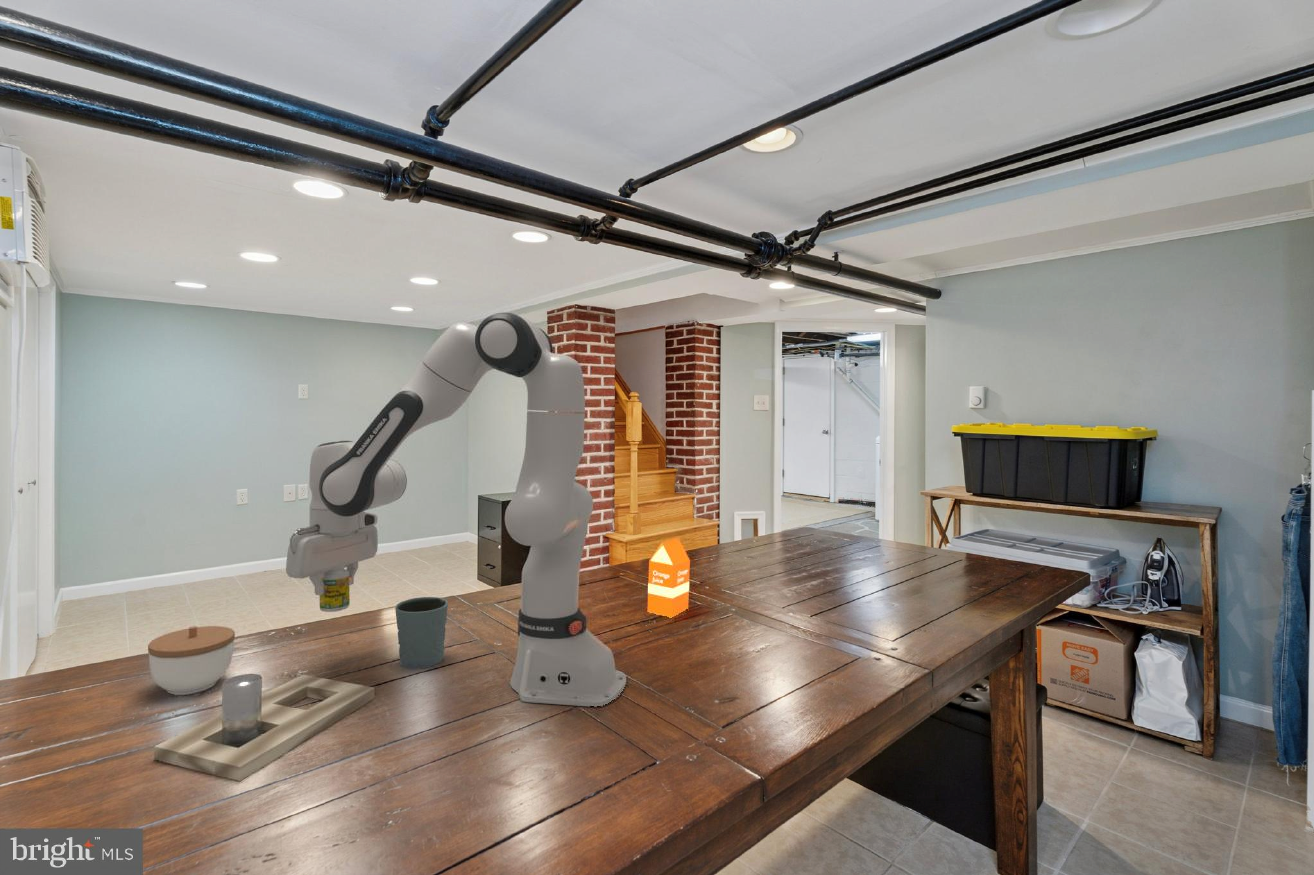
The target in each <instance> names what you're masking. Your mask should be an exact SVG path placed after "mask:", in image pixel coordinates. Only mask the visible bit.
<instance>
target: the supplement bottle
mask: <svg viewBox="0 0 1314 875" xmlns="http://www.w3.org/2000/svg"><path fill="white" fill-rule="evenodd" d="M345 568H346V567H345V563H344V562H341V563H340V565H339V566H338V568H336V569H333V570H330V571H326V572H324V577H323V578H321V579H322V581H323V583H324V584H326V585H328V589H327V590H328V592H327V593H326V594H323V595H319V610H320V611H321V612H325V613H334V612H340V611H343V610H346V609H348V608H349V607H350V596H351V595H350V585H349V572H348V571H347V570H346V569H345Z"/></svg>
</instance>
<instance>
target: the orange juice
mask: <svg viewBox="0 0 1314 875" xmlns="http://www.w3.org/2000/svg"><path fill="white" fill-rule="evenodd" d="M690 565H691V559H690V558H689V556H688V554H687V552H686V549H685V548H684V546H683V544H682V542H681V540H680V538H679V537H676V538H672V539H669V540H666V541H663V542H661V543H660V545H659V546H658V547H657V549H656V551H655V552H654V553H653V555H652V556H651V557H650V559H649V561H648V583H647V584H648V585H647V612H649V613H654V614H656V615H662V616H667V617H669V618H672V617H674V616H676V615H678V614H679V613H681V612H683V611H685V610H686V609H688V610H689V596H690V594H689V593H690V570H691V569H690V567H691V566H690Z"/></svg>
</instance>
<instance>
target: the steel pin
mask: <svg viewBox="0 0 1314 875" xmlns="http://www.w3.org/2000/svg"><path fill="white" fill-rule="evenodd" d="M221 687H222V688H221V690H222V691H221V692H222V693H221V697H222V698H221V714H222V742H221V744H223V745H227V746H231V747H236V748H239V747H241V746H243V745H245V744H246V743H248V742H250V741H252V740H254V739H255V738H257V737H259V736H261V735H262V733H261V711H262V694H263V692H262V691H263V676H262V675H261V674H257V673H244V674H239V675H236V676H232V677H230V678H228V679H226V680H224V681H223V682H222V686H221Z"/></svg>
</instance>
